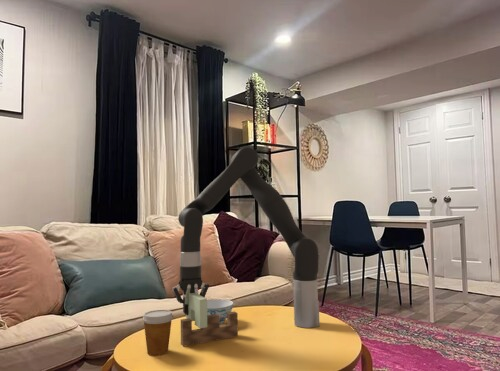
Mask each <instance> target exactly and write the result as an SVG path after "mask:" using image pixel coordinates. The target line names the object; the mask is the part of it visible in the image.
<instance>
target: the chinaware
mask: <svg viewBox="0 0 500 371" xmlns="http://www.w3.org/2000/svg"><path fill="white" fill-rule="evenodd" d="M233 308H234V302H233V301H232V300H230V299H222V298H219V299H218V298H215V299H214V298H213V299H207V315H214V314H217V315H219V325H224V321H226V320H227V312H233Z"/></svg>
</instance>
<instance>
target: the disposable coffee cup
mask: <svg viewBox="0 0 500 371" xmlns="http://www.w3.org/2000/svg"><path fill="white" fill-rule="evenodd" d="M173 318H174V315H173V312H172V310H169V309H154V310H153V309H152V310H149V311H147V312H144V313H143V317H142V322H143V324H144V325H143V326H144V334H145V343H146V344H145V345H146V351H147V352H146V353H147V354H148V356H151V357H155V356H156V357H157V356H162V355H163V356H164V355H165V354H167V353H168V352H169V347H170V346H169V344H170V338H171V336H170V335H171V327H172V320H173Z"/></svg>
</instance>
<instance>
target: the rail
mask: <svg viewBox="0 0 500 371" xmlns="http://www.w3.org/2000/svg"><path fill="white" fill-rule="evenodd" d="M238 322H239V320H238V312H236V311H235V310H234V311H231V312H227V318H226V324H225V323H223V324H221V325H219V315H217V314H214V315H207V327H205V328H195V329H193V327H192V325H193V324H192V323H193V321H192V320H191V319H190V318H188V319H187V318H183V319H180V345H181V346H182V347H189V346H193V345H198V344H199V345H200V344H204V343H209V342H214V341H218V340H219V341H220V340H226V339H231V338H235V337H238V336H239V333H238V331H239V329H238V328H239V327H238Z"/></svg>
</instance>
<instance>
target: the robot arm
mask: <svg viewBox="0 0 500 371" xmlns="http://www.w3.org/2000/svg"><path fill="white" fill-rule="evenodd" d="M258 162H259V154H258V153H257V151H256V150H255V149H254V148H252V147H248V146H246V147H245V146H244V147H242V148H239V149H238V150H236V152H235V153H234V154H233V155H232V157H231V159H230V163H229V165H228V166H226V168H225V169H224V170H223V171H222V172H221V173H220V174H219V175H218V176H217V177H216V178H214V179H213V181H211V182H210V183H209V184H208V185H207V186H206V187H205V188H204V189H203V191H201V192H200V193H199V195H198V196H197V197H196V198H195V199H194V200H192V201H191V202H190V203H189V204H187V205H186V206H185V207H184V208H183V209H182V210H181V211H180V212H179V214H178V219H177V220H178V223H179V224H180V225H181V226H182V227H183V234H182V236H181V238H180V255H179V282H178V284H177V285H175V286H172V287H171V290H172V293H173V295H174V296H175V299H176V301H177V302H178V303H179V304H182V313H183V314H184V315H185V316H186V315H188V298H189V294H190V293H197V294H199V295H201V296H203V297H205V298H206V294H207V292H208V290H209V288H210V284H208V283H206V282H203V280H202V263H203V262H202V254H201V236H202V232H203V227H204V226H203V225H204V218H203V217H204V216H203V215H204V214H206V213H207V212H209V211H211V210H213V209H214V207H215V206H216V205H217V204H218V203H219V202H220V201H221V200H222V199H223V198H224V196H225V195H226V194H227V193H228V192H229V191H230V189H231V188H232V187H233V186H234V185H235V183H237V181H238V180H241V181H242V182H243V183H244V184H245V186H246V187H247V188H248V190H249V191H250V193H251V195H252V196H253V198H254V199H255V200H256V202H257V204H258V205H259V206H260V208H261V209H262V211H263V212H264V214H265V216H266V217H267V218H268V220H269V221H270V223H271V224H272V225H273V226H274V227H275V229H276V230H277V231H278V232H279V233H280V235H281V237H282V238H283V240H284V241H285V243H286V245H287V246H288V250H289V251H290V253H291V254H292V256H293V257H294V269H293V270H294V271H293V273H292V280H293V285H292V286H293V313H294V314H293V317H294V318H293V320H294V326H297V327H298V328H305V329H307V328H308V329H309V328H316V327H320V301H319V298H318V297H319V295H318V292H319V291H318V274H319V249H318V248H319V247H318V245H317V243H316V242H315V241H314V240H313V239H311V238H308V237H306V235H305V234H304V233H303V232H302V231H301V229H300V228H299V226H298V225H297V223H296V222H295V219H294V217H293V214H292V212H291V209H290V207H289V206H288V204H287V202H286V201H285V199H284V197H282V195H281V193H280V192H279V191H277V189H276V188H275V187H273V186H272V185H271V184H269V183H268V182H267V181H266V180H264V179H263V177H262V176H261V175H260V173H259V172H258V170H257V168H256V166H257V165H258ZM200 288H201V289H200ZM180 289H181V290H182V296H181V294H180ZM199 290H200V292H199Z"/></svg>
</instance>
